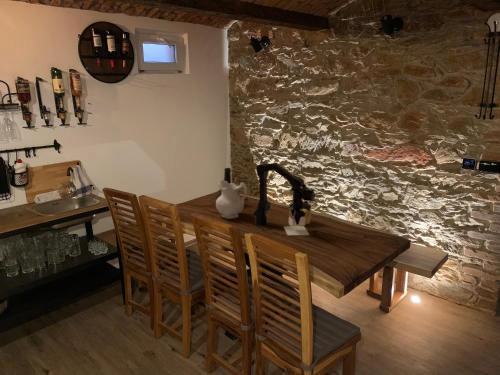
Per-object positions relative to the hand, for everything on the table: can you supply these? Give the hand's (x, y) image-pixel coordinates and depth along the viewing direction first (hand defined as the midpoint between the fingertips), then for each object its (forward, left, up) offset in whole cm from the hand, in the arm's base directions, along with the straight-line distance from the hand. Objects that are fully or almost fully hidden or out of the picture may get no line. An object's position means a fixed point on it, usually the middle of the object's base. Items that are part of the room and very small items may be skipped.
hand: (296, 222), depth 242 cm
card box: (0, 0, -1) cm, 1 cm away
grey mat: (0, 0, -6) cm, 6 cm away
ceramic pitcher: (-38, +31, -6) cm, 50 cm away
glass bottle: (-40, +57, -6) cm, 70 cm away
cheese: (+6, +15, -6) cm, 17 cm away
